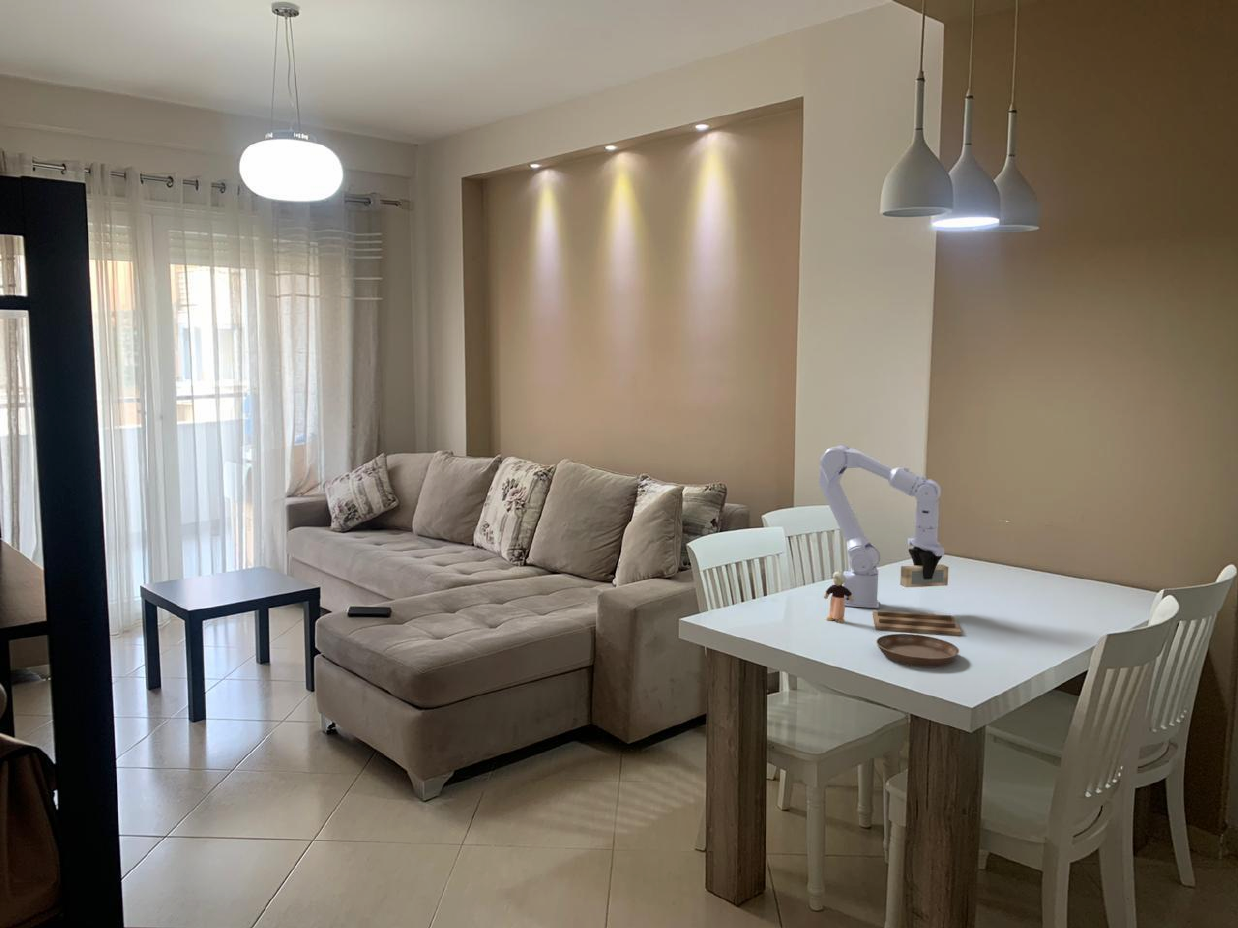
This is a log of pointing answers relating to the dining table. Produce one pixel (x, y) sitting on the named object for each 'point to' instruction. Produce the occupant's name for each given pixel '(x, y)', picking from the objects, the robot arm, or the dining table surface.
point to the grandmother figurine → (837, 598)
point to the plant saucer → (917, 650)
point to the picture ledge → (916, 623)
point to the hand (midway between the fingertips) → (924, 577)
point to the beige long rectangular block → (914, 576)
